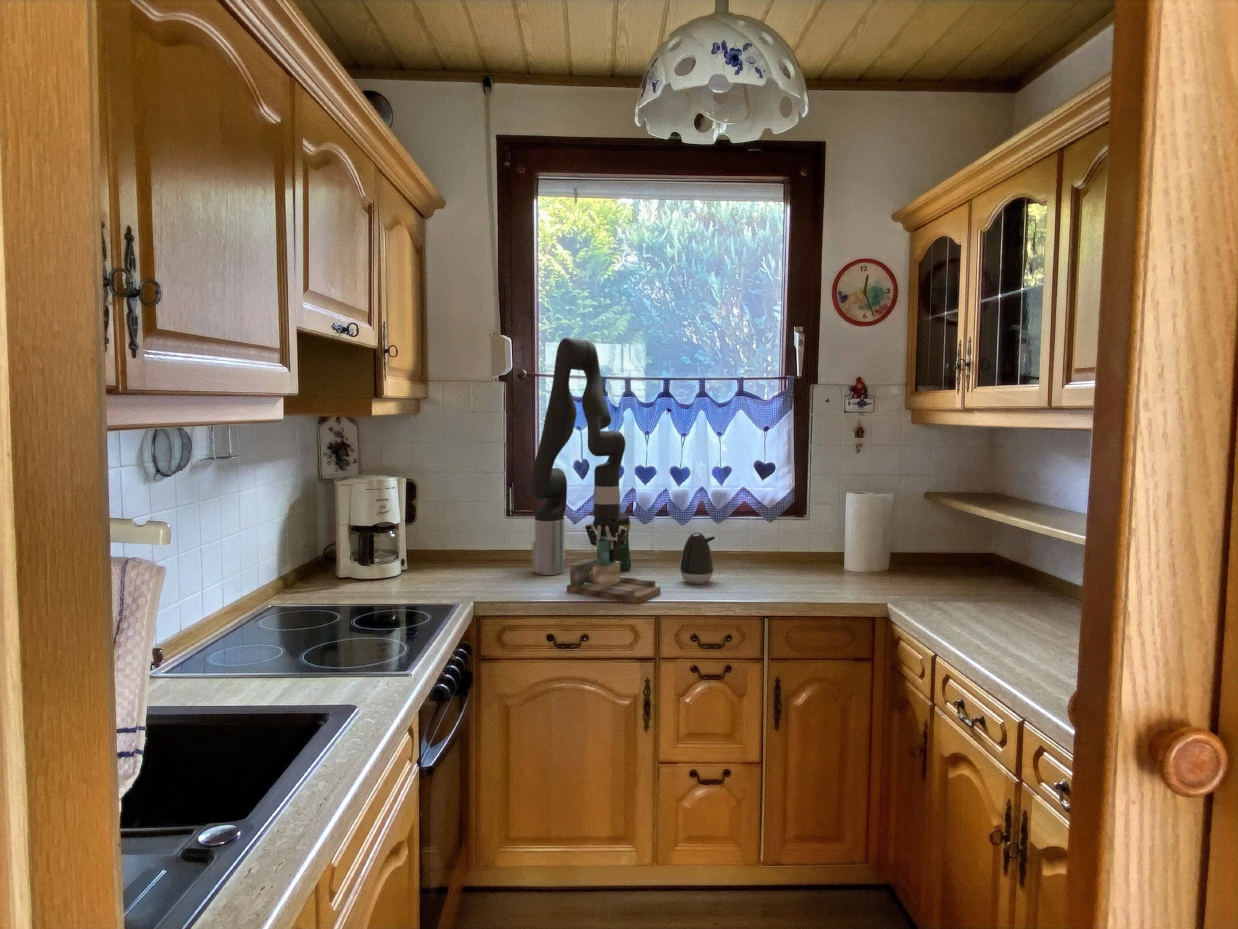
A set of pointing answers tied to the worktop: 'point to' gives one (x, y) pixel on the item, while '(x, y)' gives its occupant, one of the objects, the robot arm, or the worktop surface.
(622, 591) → the base
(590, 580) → the walnut
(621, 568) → the coffee jar
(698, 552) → the pump dispenser
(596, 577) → the sliding jaw
